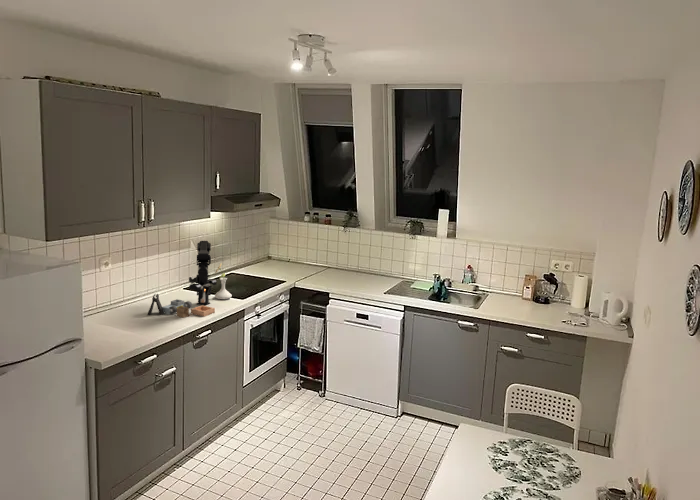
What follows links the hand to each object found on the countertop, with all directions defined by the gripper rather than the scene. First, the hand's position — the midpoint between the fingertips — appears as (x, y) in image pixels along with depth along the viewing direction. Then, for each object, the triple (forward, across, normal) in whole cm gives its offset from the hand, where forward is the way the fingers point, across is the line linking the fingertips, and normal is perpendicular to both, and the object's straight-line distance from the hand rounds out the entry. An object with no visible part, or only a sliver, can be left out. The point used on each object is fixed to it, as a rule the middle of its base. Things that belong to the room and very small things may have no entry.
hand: (202, 298), depth 334 cm
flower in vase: (+10, -33, -11) cm, 36 cm away
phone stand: (+10, +17, -22) cm, 29 cm away
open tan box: (+10, 0, 0) cm, 10 cm away
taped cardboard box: (+10, +11, -6) cm, 16 cm away
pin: (+2, 0, 0) cm, 2 cm away
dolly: (+10, +5, -16) cm, 19 cm away
